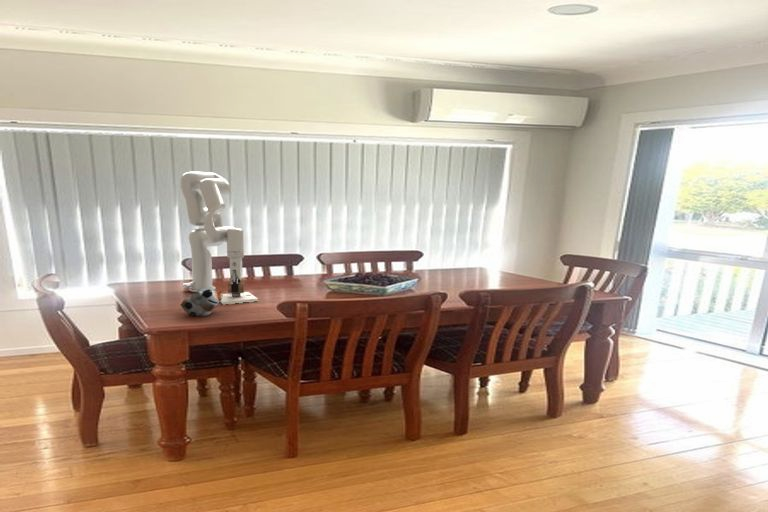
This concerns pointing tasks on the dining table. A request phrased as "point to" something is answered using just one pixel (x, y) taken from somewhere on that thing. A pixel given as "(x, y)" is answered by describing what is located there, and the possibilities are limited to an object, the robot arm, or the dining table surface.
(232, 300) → the dial board
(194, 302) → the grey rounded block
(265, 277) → the dining table surface
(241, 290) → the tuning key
